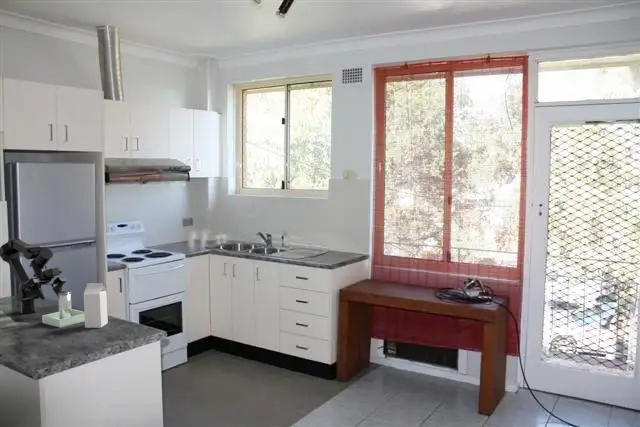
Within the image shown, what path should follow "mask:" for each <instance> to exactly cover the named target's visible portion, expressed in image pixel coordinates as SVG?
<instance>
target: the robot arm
mask: <svg viewBox="0 0 640 427" xmlns="http://www.w3.org/2000/svg"><path fill="white" fill-rule="evenodd" d="M20 253H21V254H23V257H24V258H25V259H26V260H28V261H29V260H31V261H30V263H29V268H32V272H33V273H34V274H32V276H33V277H31V278H29V276H28V273H27V272H26V271H25V270H26V269H25V268H24V266H23V264H22V262H21V261H20V258H19V255H20ZM53 257H54V253H53V251H52V250H50V249H48V248H47V247H46V246H40V245H31V244H29V243H26V242H25V241H23V240H21V239H20V238H12V239H9V240H8V241H7V242H5V243H4V244H2V245H1V246H0V258H1V259H2V261H3V262H6V263H7V264H8V265H9V267H10V268H11V272H12V273H13V275H14V277H15V279H16V281H17V283H18V290H17V294H16V296H15V299H16V302H20V304H21V310H20V315H25V314H26V315H27V314H35V313H37V309H36V306H35V305H36V303H35V300H38V299H41V300H42V301H44V300H45V299H46V298H45V295H44V292H43V289H42V286H47V285H48V286H49V285H50V286H51V287H52V290H53V292H54V293H55V295H56V297H58V292H62V288H63V286H64V285H65V283H67V278H66V277H65V276H60V274H62V273H63V271H62V268H61V267H60V266H57V267H54V268H48V267H47V264H48V263H49V262H50V261H51V259H52V258H53ZM56 276H59V277H56ZM55 277H56V278H55ZM54 278H55V279H54ZM52 279H54V280H52Z"/></svg>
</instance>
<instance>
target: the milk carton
mask: <svg viewBox="0 0 640 427" xmlns="http://www.w3.org/2000/svg"><path fill="white" fill-rule="evenodd" d="M107 295H108V294H107V290H106V287H105V286H104V283H92V282H91V283H90V282H89V283H86V287H85V290H84V292H83V310H84V311H83V312H84V314H85V321H84V328H86V329H93V328H95V329H96V328H97V329H98V328H99V329H100V328H103V327H104V326H106V325H107V324H108V323H109V322H108V318H109V317H108V300H107Z"/></svg>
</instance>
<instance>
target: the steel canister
mask: <svg viewBox="0 0 640 427" xmlns="http://www.w3.org/2000/svg"><path fill="white" fill-rule="evenodd" d="M57 298H58V312H59V319H64V318H68V317H72V309H73V308H72V291H71V290H70V291H69V290H66V291H65V290H63V291H62V292H58V296H57Z"/></svg>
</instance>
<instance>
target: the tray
mask: <svg viewBox="0 0 640 427" xmlns="http://www.w3.org/2000/svg"><path fill="white" fill-rule="evenodd" d="M41 322H42V324H44V325H49V326H53V327H56V328H59V329H61V328H64V327H68V326H71V325H76V324H80V322H81V323H85V314H84V311H82V310H79V309H73V308H72V317H68V318H64V319H59V311H56V312H52V313H48V314H43V315H42V316H41Z"/></svg>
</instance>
